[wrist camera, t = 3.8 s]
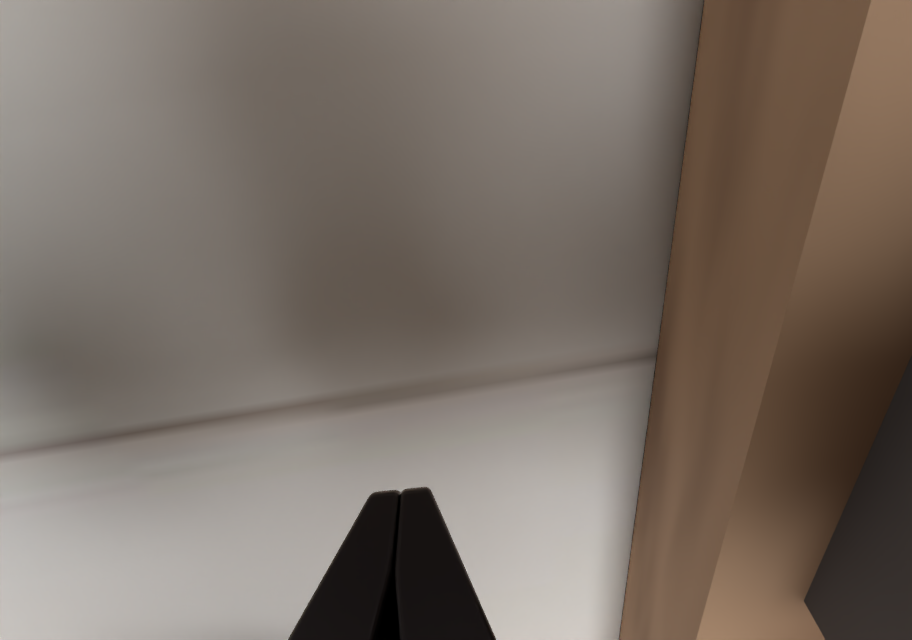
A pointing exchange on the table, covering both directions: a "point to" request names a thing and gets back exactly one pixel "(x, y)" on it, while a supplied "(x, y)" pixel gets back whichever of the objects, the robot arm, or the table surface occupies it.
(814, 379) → the wooden box
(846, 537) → the dark grey angular bar
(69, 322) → the table surface
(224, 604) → the table surface
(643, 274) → the table surface
